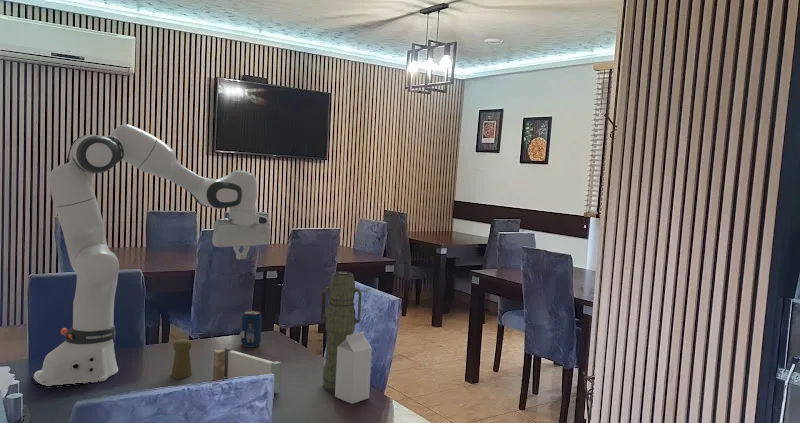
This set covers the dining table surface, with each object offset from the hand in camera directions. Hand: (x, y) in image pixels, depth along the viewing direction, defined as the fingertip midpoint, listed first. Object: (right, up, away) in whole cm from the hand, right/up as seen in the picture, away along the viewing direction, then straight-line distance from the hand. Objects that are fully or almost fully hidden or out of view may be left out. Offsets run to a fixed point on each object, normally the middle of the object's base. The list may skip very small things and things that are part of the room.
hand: (241, 258), depth 213 cm
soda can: (0, -32, +14) cm, 35 cm away
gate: (+10, -35, -27) cm, 45 cm away
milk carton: (+40, -38, -32) cm, 64 cm away
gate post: (-1, -35, -24) cm, 42 cm away
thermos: (+35, -37, -23) cm, 56 cm away
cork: (-13, -34, -21) cm, 42 cm away
